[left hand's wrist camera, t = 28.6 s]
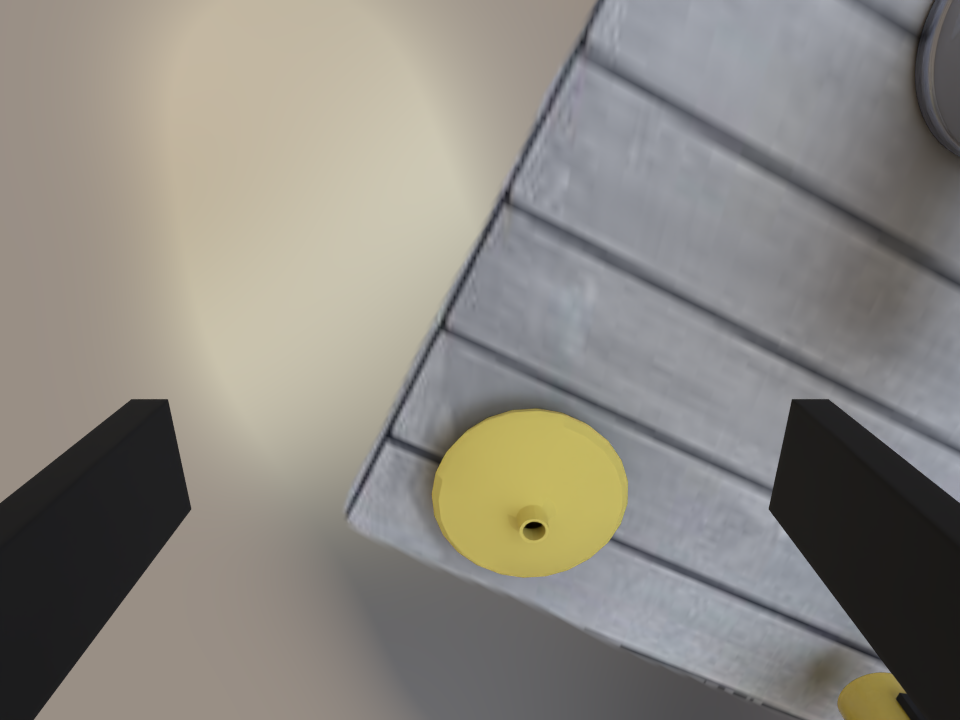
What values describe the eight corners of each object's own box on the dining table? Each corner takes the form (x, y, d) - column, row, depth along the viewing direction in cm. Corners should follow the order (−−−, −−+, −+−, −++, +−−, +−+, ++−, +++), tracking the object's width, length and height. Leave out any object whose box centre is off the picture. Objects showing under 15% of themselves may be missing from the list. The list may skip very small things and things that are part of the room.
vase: (575, 362, 47) (590, 401, 40) (647, 512, 52) (672, 568, 45) (400, 442, 49) (388, 491, 43) (485, 577, 55) (486, 639, 48)
